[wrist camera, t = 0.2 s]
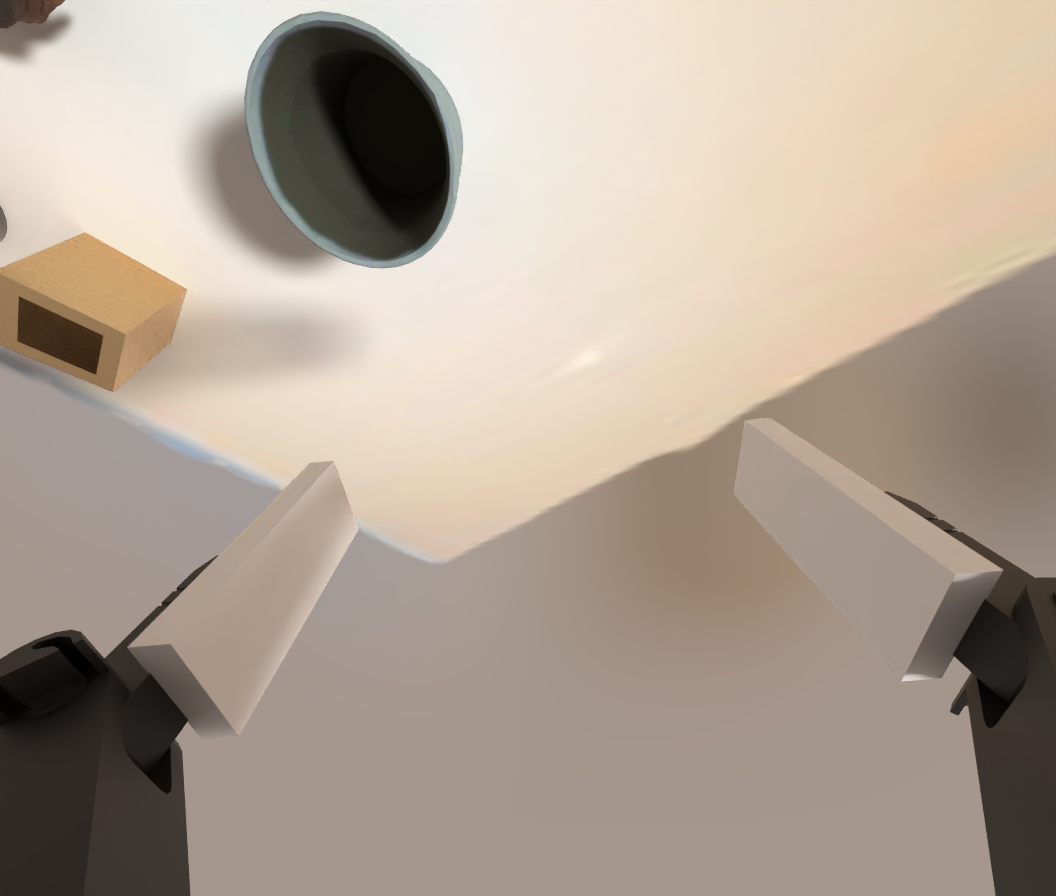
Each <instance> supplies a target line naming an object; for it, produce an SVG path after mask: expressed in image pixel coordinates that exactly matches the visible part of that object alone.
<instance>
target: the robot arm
mask: <svg viewBox="0 0 1056 896" xmlns="http://www.w3.org/2000/svg"><path fill="white" fill-rule="evenodd" d="M734 495H735V496H736V497H737V499H738V500H739V501H740V502H741V503H742V504H743V505H744V506H745V507H746V509H747V510H748V511H749V512H750V513H751V514H752V515H753V516H754V517H755V519H756V520H757V521H758V522H759V523H760V524H761V525H762V526H763V528H764V529H765V530H767V532H768V533H769V534H770V535H771V536H772V538H773V539H774V540H775V541H776V542H777V543H778V544H779V545H780V546H781V548H782V549H783V550H784V551H785V552H786V553H787V554H788V555H789V557H790V558H791V559H792V560H793V561H794V562H795V563H796V564H797V565H798V567H799V568H800V569H801V570H802V571H803V572H804V573H805V574H806V575H807V577H808V578H809V579H810V580H811V581H812V582H813V583H814V584H815V586H816V587H817V588H818V589H819V590H820V591H821V592H822V593H823V594H824V596H825V597H826V598H827V599H828V600H829V601H830V602H831V603H832V604H833V606H834V607H835V608H836V609H837V610H838V611H839V612H840V613H841V614H842V616H843V617H844V618H845V619H846V620H847V621H848V622H849V623H850V624H851V626H852V627H853V628H854V629H855V630H856V631H857V632H858V633H859V635H860V636H861V637H862V638H863V639H864V640H865V641H866V642H867V643H868V645H869V646H870V647H871V648H872V649H873V650H874V651H875V652H876V653H877V655H878V656H879V657H880V658H881V659H882V660H883V661H884V662H885V664H886V665H887V666H888V667H889V668H890V669H891V670H892V671H893V673H894V674H895V675H896V676H897V677H898V678H899V679H900V680H901V681H910V680H922V679H934V678H942V676H943V675H944V673H945V671H946V669H947V668H948V666H949V664H950V662H951V661H952V659H953V657H954V656H955V657H956V658H957V659H958V660H959V661H960V662H961V663H962V664H963V665H964V666H966V667H967V668H968V669H969V670H970V671H971V674H970V676H969V677H968V679H967V680H966V682H965V684H964V685H963V687H962V689H961V690H960V692H959V694H958V695H957V697H956V698H955V700H954V701H953V703H952V706H951V710H950V712H951V713H954V714H956V715H959V714H960V712H961V711H962V709H963V708H964V706H967V705H968V708H969V714H970V721H971V728H972V735H973V742H974V749H975V756H976V762H977V770H978V777H979V783H980V791H981V797H982V804H983V811H984V818H985V825H986V832H987V839H988V846H989V853H990V860H991V867H992V873H993V880H994V886H995V894H996V896H1056V578H1035V577H1033V576H1031V575H1030V574H1028V573H1027V572H1025V571H1023V570H1022V569H1020V568H1018V567H1017V566H1015V565H1014V564H1012V563H1011V562H1009V561H1007V560H1006V559H1004V558H1003V557H1001V556H999V555H998V554H996V553H994V552H993V551H991V550H990V549H988V548H987V547H985V546H983V545H982V544H980V543H979V542H977V541H975V540H974V539H972V538H971V537H969V536H967V535H966V534H964V533H963V532H957V529H956V528H955V527H953V526H952V525H950V524H948V523H947V522H945V521H944V520H938V517H937V516H935V515H934V514H932V513H931V512H929V511H928V510H926V509H924V508H923V507H921V506H920V505H918V504H916V503H915V502H912V501H910V500H907V499H905V498H902V497H900V496H897V495H895V494H892V493H890V492H883V491H881V490H880V489H878V488H877V487H875V486H874V485H872V484H870V483H869V482H868V481H866V480H864V479H863V478H861V477H860V476H858V475H857V474H855V473H854V472H852V471H850V470H849V469H848V468H846V467H844V466H843V465H841V464H840V463H838V462H837V461H835V460H834V459H832V458H831V457H829V456H828V455H826V454H825V453H823V452H821V451H820V450H818V449H817V448H815V447H814V446H812V445H811V444H809V443H808V442H806V441H805V440H803V439H801V438H800V437H798V436H797V435H795V434H794V433H792V432H791V431H789V430H788V429H786V428H785V427H783V426H782V425H780V424H778V423H777V422H775V421H774V420H772V419H771V418H762V419H752V420H745V424H744V431H743V437H742V443H741V449H740V456H739V462H738V469H737V475H736V481H735V487H734ZM357 531H358V527H357V524H356V521H355V518H354V516H353V513H352V510H351V507H350V504H349V502H348V499H347V496H346V493H345V491H344V488H343V485H342V482H341V479H340V477H339V474H338V471H337V468H336V466H335V463H334V461H326V462H316V463H310V464H309V465H308V466H307V467H306V468H305V469H304V470H303V471H302V472H301V473H300V474H299V475H298V476H297V477H296V478H295V479H294V480H293V481H292V482H291V483H290V484H289V485H288V486H287V487H286V488H285V489H284V490H283V491H282V492H281V493H280V494H279V495H278V496H277V497H276V498H275V499H274V500H273V501H272V502H271V503H270V505H268V506H267V507H266V508H265V509H264V510H263V511H262V512H261V513H260V514H259V515H258V516H257V517H256V518H255V519H254V520H253V522H251V523H250V524H249V526H247V527H246V528H245V530H243V531H242V532H241V534H239V535H238V536H237V537H236V539H234V540H233V541H232V542H231V544H230V545H228V546H227V547H226V548H225V550H223V551H222V552H221V553H220V555H218V556H216V557H214V558H213V559H211V560H210V561H208V562H207V563H205V564H204V565H202V566H201V567H199V568H198V569H196V570H195V571H194V572H193V573H192V574H191V575H189V576H188V578H186V579H185V580H184V581H183V582H182V583H181V584H180V585H179V586H178V587H177V591H175V592H172V593H171V594H170V595H169V596H168V597H167V598H166V599H165V600H164V601H163V602H162V606H158V607H157V608H156V609H155V610H154V611H153V612H152V613H151V614H150V615H149V616H148V617H147V618H146V619H144V620H143V621H142V622H141V623H140V624H139V625H138V626H137V627H136V628H135V629H134V630H133V631H132V632H131V634H129V635H128V636H127V637H126V638H125V639H124V640H123V641H122V642H121V643H120V644H119V645H118V646H117V647H116V648H115V649H114V650H113V651H112V652H111V653H110V654H109V655H108V656H107V657H106V658H105V659H104V658H103V657H102V655H100V653H99V652H98V651H97V650H96V649H95V647H94V646H93V645H92V644H91V643H90V642H89V641H88V639H87V638H86V637H85V636H84V635H83V634H82V633H81V632H79V631H75V630H67V631H61V632H55V633H52V634H50V635H47V636H44V637H41V638H39V639H36V640H34V641H32V642H30V643H28V644H26V645H24V646H22V647H20V648H18V649H16V650H14V651H12V652H11V653H9V654H8V655H6V656H5V657H3V658H1V659H0V896H190V882H189V865H188V846H187V829H186V811H185V795H184V776H183V760H182V759H183V758H182V750H181V748H180V746H179V744H178V743H177V741H176V740H175V738H176V737H177V736H178V734H179V733H180V731H181V730H182V729H183V727H184V725H185V724H186V723H187V722H188V723H189V724H190V725H191V727H192V728H193V729H194V730H195V731H196V732H197V734H198V735H199V736H200V737H201V739H206V738H218V737H231V736H239V734H240V732H241V731H242V729H243V728H244V726H245V724H246V722H247V721H248V719H249V717H250V715H251V714H252V712H253V710H254V709H255V707H256V705H257V703H258V701H259V700H260V698H261V697H262V695H263V693H264V691H265V690H266V688H267V686H268V684H269V683H270V681H271V679H272V678H273V676H274V674H275V672H276V671H277V669H278V667H279V666H280V664H281V662H282V660H283V659H284V657H285V655H286V653H287V652H288V650H289V648H290V646H291V645H292V643H293V641H294V640H295V638H296V636H297V634H298V633H299V631H300V629H301V628H302V626H303V624H304V622H305V621H306V619H307V617H308V616H309V614H310V612H311V610H312V609H313V607H314V605H315V603H316V602H317V600H318V598H319V597H320V595H321V593H322V591H323V590H324V588H325V586H326V584H327V583H328V581H329V579H330V578H331V576H332V574H333V572H334V571H335V569H336V567H337V566H338V564H339V562H340V560H341V559H342V557H343V555H344V553H345V552H346V550H347V548H348V547H349V545H350V543H351V541H352V539H353V538H354V536H355V534H356V533H357Z"/></svg>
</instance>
